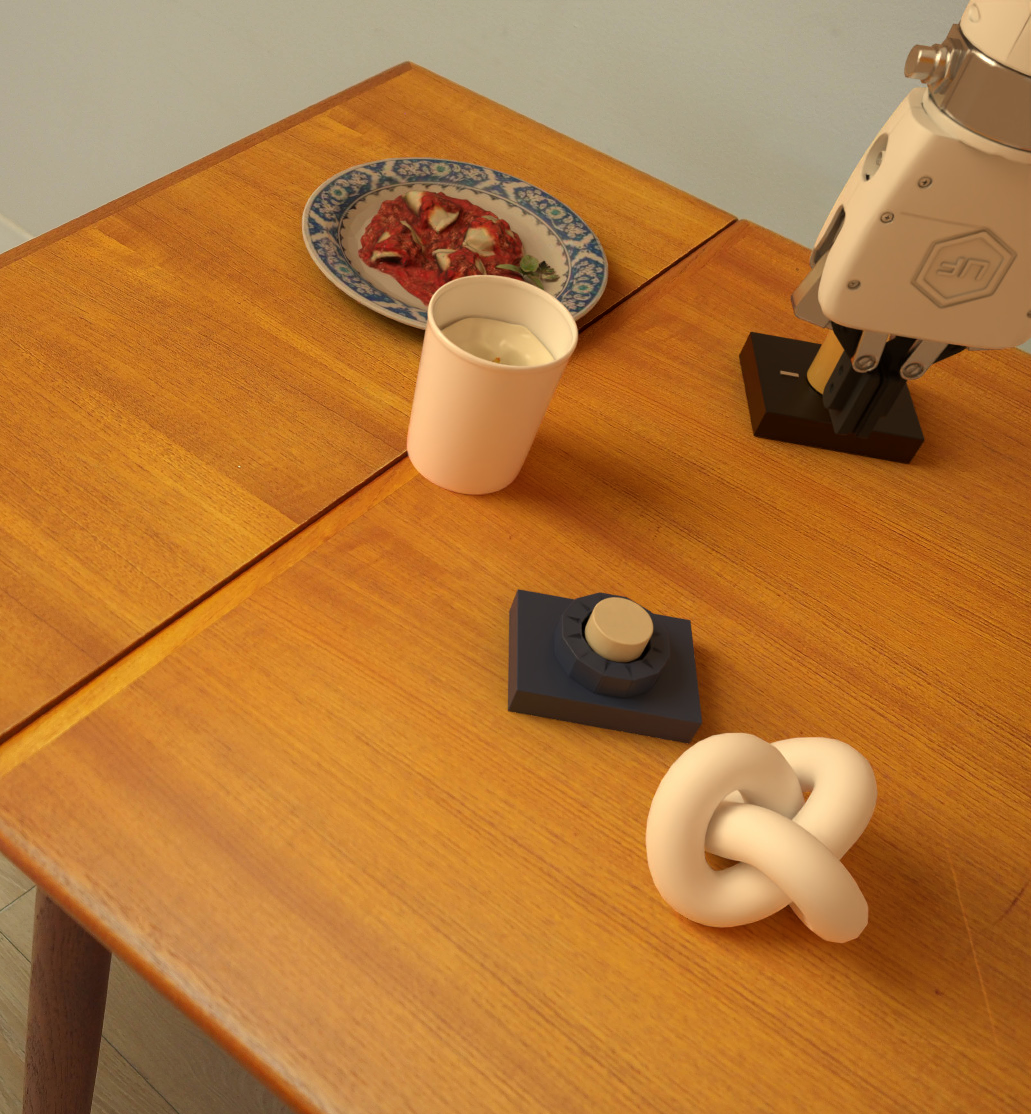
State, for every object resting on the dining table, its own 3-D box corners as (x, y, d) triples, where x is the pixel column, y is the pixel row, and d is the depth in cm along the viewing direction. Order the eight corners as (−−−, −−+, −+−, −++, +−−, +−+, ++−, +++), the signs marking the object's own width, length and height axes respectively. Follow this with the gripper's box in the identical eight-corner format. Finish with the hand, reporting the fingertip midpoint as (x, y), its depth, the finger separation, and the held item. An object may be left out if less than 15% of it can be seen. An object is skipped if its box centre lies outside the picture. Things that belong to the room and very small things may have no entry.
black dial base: (884, 381, 102) (899, 355, 100) (909, 464, 95) (926, 438, 93) (738, 355, 102) (751, 329, 100) (753, 436, 95) (767, 409, 93)
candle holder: (465, 524, 85) (509, 388, 76) (366, 442, 90) (397, 304, 81) (558, 468, 90) (609, 334, 82) (460, 392, 95) (498, 257, 86)
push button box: (678, 641, 80) (701, 601, 78) (689, 744, 75) (714, 705, 72) (509, 611, 80) (524, 569, 78) (507, 711, 75) (524, 671, 72)
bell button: (642, 621, 76) (651, 602, 75) (645, 667, 74) (655, 649, 73) (583, 610, 76) (592, 592, 75) (585, 656, 74) (594, 638, 73)
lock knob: (869, 406, 95) (902, 350, 92) (811, 396, 95) (842, 340, 92) (857, 369, 98) (889, 314, 95) (802, 360, 98) (831, 305, 95)
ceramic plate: (237, 262, 103) (240, 230, 100) (400, 147, 118) (406, 117, 116) (512, 404, 95) (522, 374, 92) (648, 261, 110) (660, 232, 108)
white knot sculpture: (642, 973, 65) (705, 889, 58) (602, 774, 73) (654, 680, 66) (852, 984, 66) (938, 903, 59) (790, 786, 74) (859, 695, 67)
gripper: (868, 107, 51) (712, 444, 64) (1240, 163, 50) (1005, 490, 64) (836, 25, 56) (697, 353, 69) (1174, 76, 55) (969, 395, 69)
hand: (845, 418), depth 66 cm, fingers closed
